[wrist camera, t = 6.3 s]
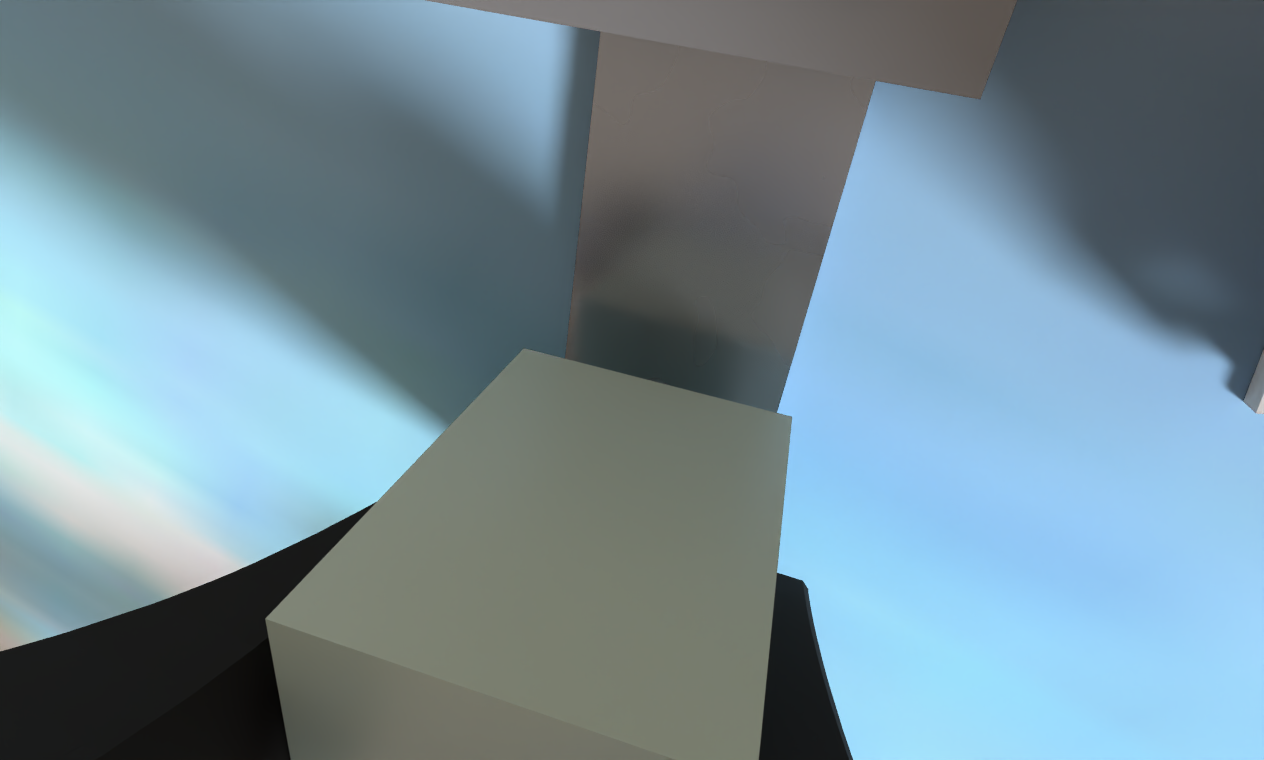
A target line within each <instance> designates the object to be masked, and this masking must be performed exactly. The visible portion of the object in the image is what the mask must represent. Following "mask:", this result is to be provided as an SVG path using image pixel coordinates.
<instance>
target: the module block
mask: <svg viewBox="0 0 1264 760" xmlns="http://www.w3.org/2000/svg"><path fill="white" fill-rule="evenodd" d="M791 422H792V417H791V416H787V415H783V414H779V413H775V412H771V411H767V410H763V409H760V408H756V407H752V406H748V405H744V404H740V403H736V402H732V401H728V400H724V399H721V398H717V397H713V396H709V395H705V394H701V393H697V392H693V391H689V390H685V389H682V388H678V387H674V386H670V385H666V384H662V383H658V382H654V381H650V380H646V379H642V378H639V377H635V376H631V375H627V374H623V373H619V372H615V371H611V370H607V369H603V368H600V367H596V366H592V365H588V364H584V363H580V362H576V361H572V360H568V359H564V358H561V357H557V356H553V355H549V354H545V353H541V352H537V351H533V350H529V349H525V348H523V350H522V351H521V352H520V353H519V354H518V355H517V356H516V357H515V358H514V359H513V360H512V361H511V362H510V363H509V364H508V365H507V366H506V367H505V368H504V369H503V370H502V372H501V373H500V374H499V375H498V376H497V377H496V378H495V379H494V380H493V381H492V382H491V383H490V384H489V385H488V386H487V387H486V388H485V389H484V390H483V391H482V392H481V394H480V395H479V396H478V397H477V398H476V399H475V400H474V401H473V402H472V403H471V404H470V405H469V406H468V407H467V408H466V409H465V410H464V411H463V412H462V413H461V414H460V415H459V417H458V418H457V419H456V420H455V421H454V422H453V423H452V424H451V425H450V426H449V427H448V428H447V429H446V430H445V431H444V432H443V433H442V434H441V435H440V436H439V437H438V439H437V440H436V441H435V442H434V443H433V444H432V445H431V446H430V447H429V448H428V449H427V450H426V451H425V452H424V453H423V454H422V455H421V456H420V457H419V458H418V459H417V461H416V462H415V463H414V464H413V465H412V466H411V467H410V468H409V469H408V470H407V471H406V472H405V473H404V474H403V475H402V476H401V477H400V478H399V479H398V480H397V481H396V482H395V484H394V485H393V486H392V487H391V488H390V489H389V490H388V491H387V492H386V493H385V494H384V495H383V496H382V497H381V498H380V499H379V500H378V501H377V502H376V503H375V504H374V506H373V507H372V508H371V509H370V510H369V511H368V512H367V513H366V514H365V515H364V516H363V517H362V518H361V519H360V520H359V521H358V522H357V523H356V524H355V525H354V526H353V528H352V529H351V530H350V531H349V532H348V533H347V534H346V535H345V536H344V537H343V538H342V539H341V540H340V541H339V542H338V543H337V544H336V545H335V546H334V547H333V548H332V549H331V551H330V552H329V553H328V554H327V555H326V556H325V557H324V558H323V559H322V560H321V561H320V562H319V563H318V564H317V565H316V566H315V567H314V568H313V569H312V570H311V571H310V573H309V574H308V575H307V576H306V577H305V578H304V579H303V580H302V581H301V582H300V583H299V584H298V585H297V586H296V587H295V588H294V589H293V590H292V591H291V592H290V593H289V595H288V596H287V597H286V598H285V599H284V600H283V601H282V602H281V603H280V604H279V605H278V606H277V607H276V608H275V609H274V610H273V611H272V612H271V613H270V614H269V615H268V617H267V618H266V619H265V620H266V626H267V631H268V637H269V642H270V648H271V653H272V659H273V664H274V670H275V675H276V681H277V686H278V692H279V697H280V703H281V708H282V714H283V719H284V725H285V731H286V736H287V742H288V747H289V753H290V758H291V760H759V751H760V741H761V731H762V721H763V710H764V700H765V690H766V680H767V669H768V659H769V649H770V638H771V628H772V618H773V608H774V597H775V587H776V577H777V566H778V556H779V546H780V536H781V525H782V515H783V505H784V494H785V484H786V474H787V464H788V453H789V443H790V433H791Z"/></svg>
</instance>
